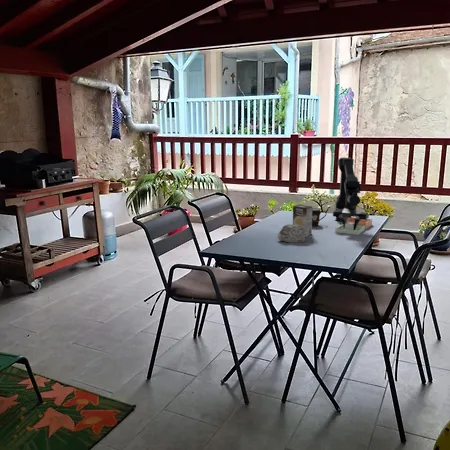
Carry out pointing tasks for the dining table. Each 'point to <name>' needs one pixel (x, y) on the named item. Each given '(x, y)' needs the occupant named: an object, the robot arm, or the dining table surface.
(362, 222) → the terracotta bin
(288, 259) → the dining table surface
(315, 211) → the coffee mug
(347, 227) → the grey block
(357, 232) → the pale green tray
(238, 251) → the dining table surface
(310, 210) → the coffee box
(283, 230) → the rock
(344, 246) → the dining table surface
